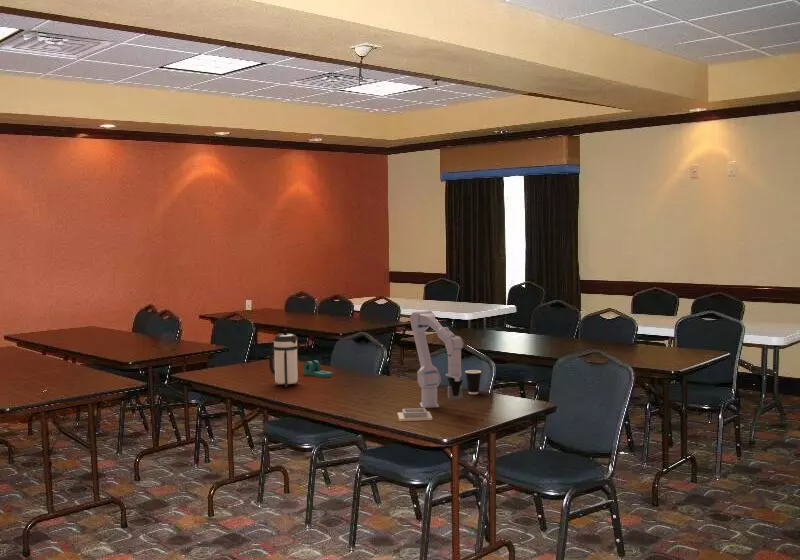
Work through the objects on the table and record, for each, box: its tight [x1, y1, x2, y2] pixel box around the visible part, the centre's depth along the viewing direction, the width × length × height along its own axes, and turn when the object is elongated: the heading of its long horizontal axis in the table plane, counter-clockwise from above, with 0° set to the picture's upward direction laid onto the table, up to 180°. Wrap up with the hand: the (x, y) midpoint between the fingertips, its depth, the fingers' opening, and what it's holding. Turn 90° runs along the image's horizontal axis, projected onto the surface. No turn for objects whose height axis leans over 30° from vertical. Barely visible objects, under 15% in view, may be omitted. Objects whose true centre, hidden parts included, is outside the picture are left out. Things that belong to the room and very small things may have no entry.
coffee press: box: [268, 328, 301, 388], centre depth 430 cm, size 17×16×30 cm
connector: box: [447, 385, 463, 400], centre depth 359 cm, size 4×6×5 cm, turn 95°
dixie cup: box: [464, 369, 482, 395], centre depth 401 cm, size 8×8×11 cm
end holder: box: [397, 407, 433, 422], centre depth 353 cm, size 12×14×3 cm
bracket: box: [303, 359, 333, 379], centre depth 457 cm, size 18×7×8 cm, turn 48°
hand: (454, 394), depth 359 cm, fingers closed on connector, 4 cm apart
